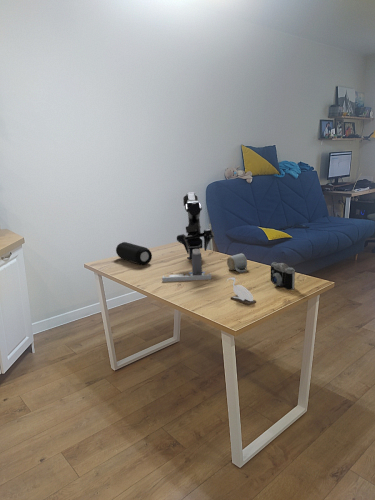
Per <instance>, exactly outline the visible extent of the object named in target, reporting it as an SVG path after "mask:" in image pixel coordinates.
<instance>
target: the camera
mask: <svg viewBox="0 0 375 500" xmlns="http://www.w3.org/2000/svg"><path fill="white" fill-rule="evenodd" d="M295 275H296V270H295V269H294V267H290V266H288V264H287V263H284V262H280V263H279V262H276V261H274V262H272V263H271V265H270V282H272V283H273V285H276V286H277V287H283V288H284V289H286V290H289V291H290V290H294V289H295V281H296V280H295Z"/></svg>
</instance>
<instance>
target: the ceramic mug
mask: <svg viewBox="0 0 375 500" xmlns="http://www.w3.org/2000/svg"><path fill="white" fill-rule="evenodd" d="M226 264H227V268H228V269H229V270H231V271H237V272H238V273H245V272H247V270H248V259H247V257H246V256H245V254H244V253H237V254H234V255H231V256H228V258H227V260H226Z"/></svg>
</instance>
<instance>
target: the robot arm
mask: <svg viewBox="0 0 375 500" xmlns="http://www.w3.org/2000/svg"><path fill="white" fill-rule="evenodd" d="M183 206H184V210H185V211H186V212H187V215H188V216H187V217H188V224H187V226H185V232H186V234H187V235H185V234H184V233H183V234H178V235H177V236H176V241H177V242H178V243H180V244H181V245H183V247H184V249H185V251H186V253H187V255H189V256H188V257H187V259H188V260H190V261H192V253H193V249H203V248H204V251H205V252H206V251H207V248H208V247H209V244H210V242H211V240H212V239H213V238H215V232H214V231H213V230H212V229H210V228H209V229H208V228H207V229H204V230H203V232H202V231H201V229H202V228H201V222H200V221H201V220H200V219H201V218H200V216H201V211H202V210H203V207H202V205H201V203H200V202H199V200H198V196H197V195H196V193H195V192H194V191H193V192H187V193H186V194H185V196H184V197H183ZM202 238H203V239H204V240H202ZM203 242H204V243H203ZM203 245H204V246H203ZM202 259H203V257H202V256H201V260H202Z"/></svg>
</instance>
